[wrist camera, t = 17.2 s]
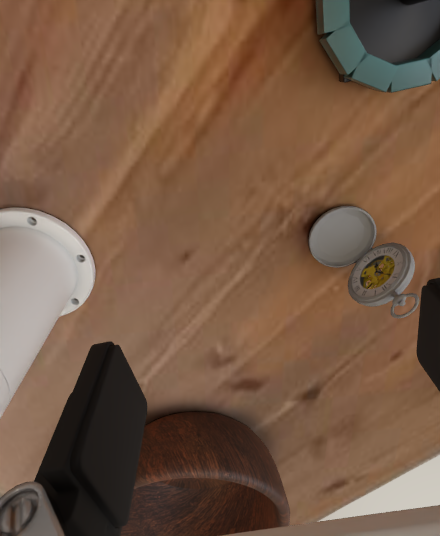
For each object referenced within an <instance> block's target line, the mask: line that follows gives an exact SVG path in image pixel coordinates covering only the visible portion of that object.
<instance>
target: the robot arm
mask: <svg viewBox="0 0 440 536" xmlns="http://www.w3.org/2000/svg"><path fill="white" fill-rule="evenodd" d="M34 218H35V219H34ZM82 255H83V256H82ZM95 271H96V270H95V265H94V260H93V257H92V255H91V253H90V250H89V249H88V247H87V245H86V244H85V242H84V241H83V240H82V238H81V237H80V236H79V235H78V234H77V233H76V232H75V231H74V230H73V229H72V228H70V227H69V226H68V225H67V224H65V223H64V222H62V221H60V220H59V219H57V218H55V217H53V216H51V215H49V214H46V213H44V212H41V211H38V210H33V209H29V208H16V207H12V208H5V209H0V418H1V416H2V415H3V413H4V411H5V410H6V408H7V406H8V404H9V403H10V401H11V399H12V397H13V396H14V394H15V392H16V391H17V389H18V387H19V385H20V384H21V382H22V380H23V378H24V377H25V375H26V373H27V371H28V370H29V368H30V366H31V365H32V363H33V361H34V359H35V358H36V356H37V354H38V352H39V351H40V349H41V347H42V345H43V344H44V342H45V340H46V339H47V337H48V335H49V333H50V332H51V330H52V328H53V326H54V325H55V323H56V321H57V319H58V318H59V316H63V315H66V314H68V313H70V312H72V311H74V310H76V309H77V308H79V307H80V306H81V305H82V304H83V303H84V302H85V301H86V299H87V298H88V297H89V295H90V293H91V291H92V289H93V285H94V282H95ZM417 357H418V360H419V362H420V364H421V365H422V367H423V368H424V370H425V371H426V372H427V374H428V375H429V377H430V378H431V380H432V381H433V383H434V384H435V385H436V387H437V388H438V390H439V391H440V278H436V279H431V280H429V281H428V282H427V285H426V286H423V287H422V292H421V304H420V316H419V328H418V340H417ZM146 415H147V401H146V398H145V396H144V394H143V392H142V390H141V388H140V386H139V384H138V382H137V380H136V378H135V376H134V374H133V372H132V370H131V368H130V366H129V364H128V362H127V360H126V358H125V356H124V354H123V352H122V350H121V348H120V346H119V345H114V343H113V342H105V343H100V344H94V345H92V347H91V348H90V351H89V353H88V356H87V358H86V361H85V363H84V365H83V368H82V370H81V373H80V375H79V378H78V380H77V383H76V385H75V388H74V390H73V392H72V393H71V394H70V396H69V398H68V400H67V403H66V405H65V407H64V410H63V412H62V415H61V417H60V420H59V422H58V424H57V427H56V429H55V432H54V434H53V437H52V439H51V441H50V444H49V446H48V449H47V451H46V454H45V456H44V458H43V461H42V463H41V466H40V468H39V471H38V473H37V475H36V478H35V480H34V482H25V483H22V484H20V485H17V486H15V487H14V488H12V489H11V490H9V491H8V492H6V493H5V494H4V495H3V496H2V497H1V498H0V536H120V535H121V530H122V526H125V525H126V524H127V522H128V519H129V514H130V508H131V502H132V496H133V491H134V485H135V479H136V473H137V467H138V462H139V456H140V450H141V444H142V438H143V433H144V427H145V421H146ZM222 536H440V505H438V506H431V507H424V508H416V509H408V510H401V511H393V512H386V513H378V514H371V515H364V516H357V517H349V518H342V519H335V520H328V521H320V522H313V523H306V524H299V525H292V526H285V527H278V528H270V529H263V530H256V531H249V532H242V533H235V534H229V535H222Z"/></svg>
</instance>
